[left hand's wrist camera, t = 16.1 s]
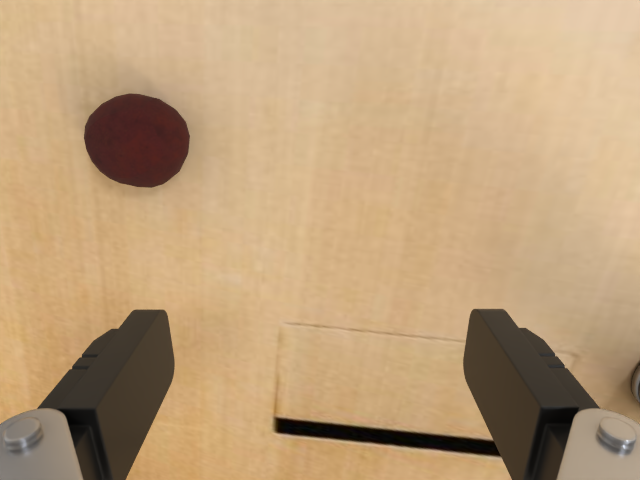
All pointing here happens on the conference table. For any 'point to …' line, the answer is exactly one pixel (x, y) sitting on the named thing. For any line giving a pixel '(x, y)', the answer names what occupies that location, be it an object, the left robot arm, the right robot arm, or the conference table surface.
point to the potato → (137, 140)
